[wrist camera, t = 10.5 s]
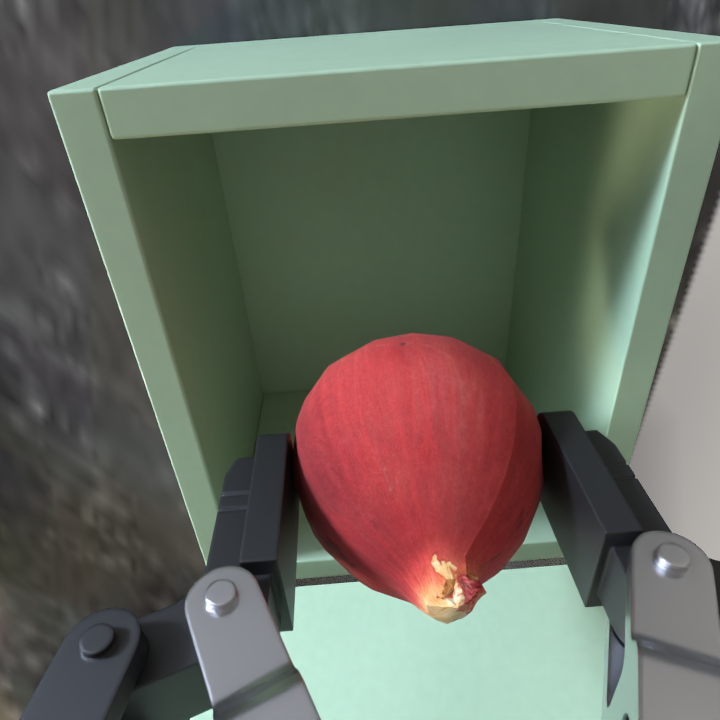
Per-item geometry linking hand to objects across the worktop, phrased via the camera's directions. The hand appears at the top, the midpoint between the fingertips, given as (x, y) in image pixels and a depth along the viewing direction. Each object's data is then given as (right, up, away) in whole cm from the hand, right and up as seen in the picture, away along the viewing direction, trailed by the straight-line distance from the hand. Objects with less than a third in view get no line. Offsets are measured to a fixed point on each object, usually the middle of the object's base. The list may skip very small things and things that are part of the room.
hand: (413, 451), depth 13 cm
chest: (-1, +7, +11) cm, 13 cm away
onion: (0, +2, +3) cm, 4 cm away
